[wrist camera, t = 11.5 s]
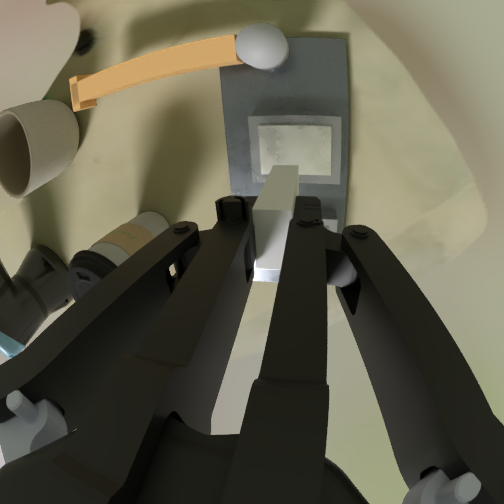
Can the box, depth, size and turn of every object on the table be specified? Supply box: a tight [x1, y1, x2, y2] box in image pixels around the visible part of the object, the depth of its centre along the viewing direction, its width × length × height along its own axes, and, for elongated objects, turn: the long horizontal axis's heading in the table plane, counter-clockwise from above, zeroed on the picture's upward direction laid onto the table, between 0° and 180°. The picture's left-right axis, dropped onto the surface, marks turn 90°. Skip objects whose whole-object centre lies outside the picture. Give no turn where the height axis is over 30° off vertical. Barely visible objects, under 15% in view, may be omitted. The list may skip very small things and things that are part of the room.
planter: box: [0, 99, 79, 198], centre depth 27 cm, size 12×12×11 cm
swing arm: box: [69, 23, 289, 112], centre depth 20 cm, size 22×4×3 cm, turn 95°
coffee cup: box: [66, 211, 170, 301], centre depth 32 cm, size 9×9×15 cm
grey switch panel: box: [219, 37, 349, 285], centre depth 28 cm, size 13×30×5 cm, turn 4°
